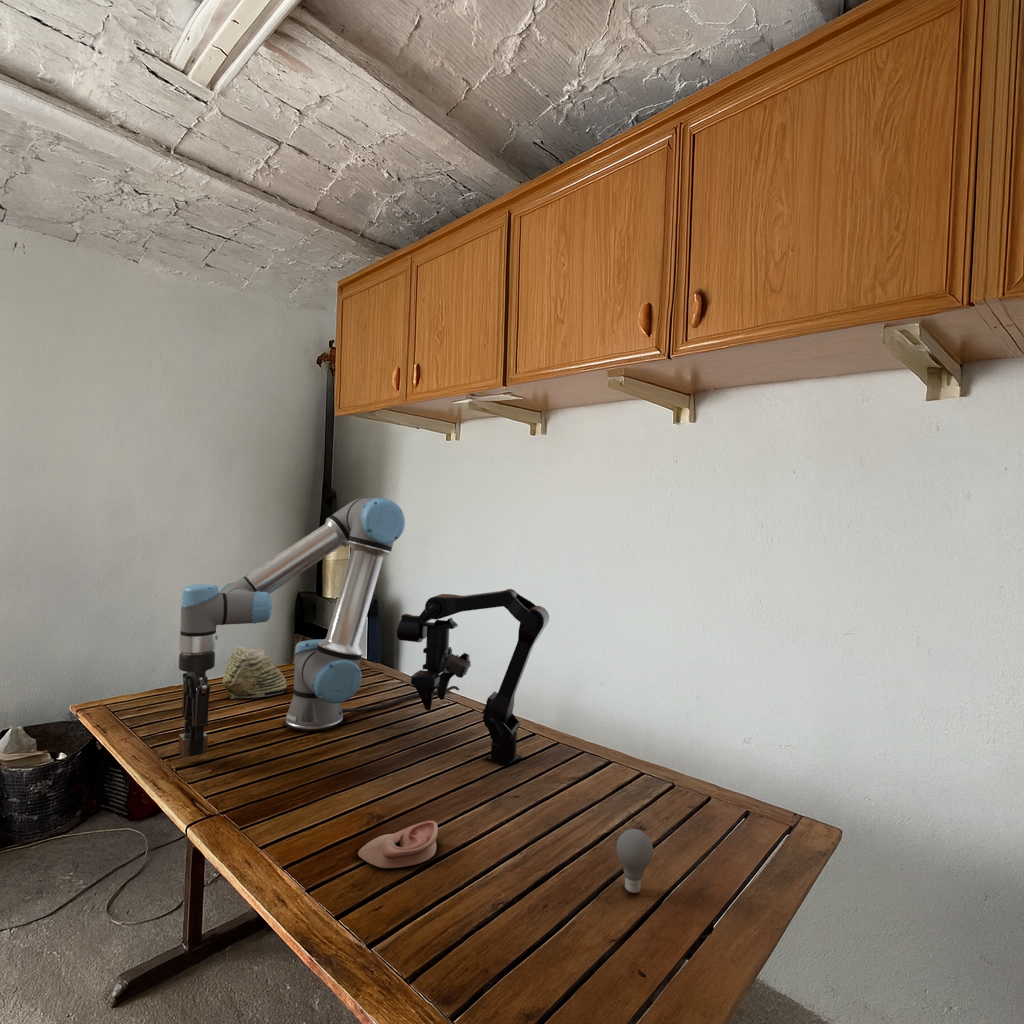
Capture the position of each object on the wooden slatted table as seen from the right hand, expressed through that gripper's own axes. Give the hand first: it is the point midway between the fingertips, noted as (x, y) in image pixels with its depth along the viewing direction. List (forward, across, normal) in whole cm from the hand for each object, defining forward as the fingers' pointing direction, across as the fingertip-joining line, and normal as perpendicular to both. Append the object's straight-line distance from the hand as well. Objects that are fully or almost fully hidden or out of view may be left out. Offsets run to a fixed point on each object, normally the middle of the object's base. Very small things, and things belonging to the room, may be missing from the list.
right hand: (435, 704), depth 162 cm
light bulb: (+11, -44, -54) cm, 70 cm away
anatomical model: (+11, -46, -12) cm, 49 cm away
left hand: (+8, -28, +49) cm, 57 cm away
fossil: (+11, +19, +68) cm, 71 cm away
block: (+9, -28, +49) cm, 57 cm away
